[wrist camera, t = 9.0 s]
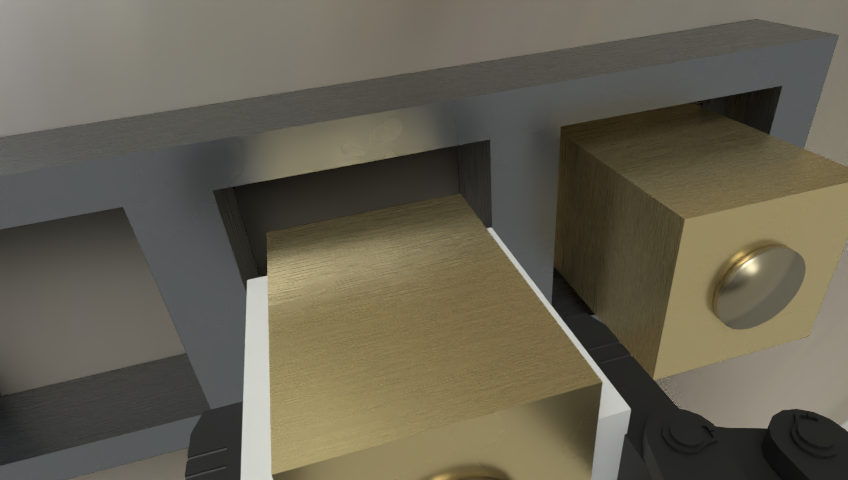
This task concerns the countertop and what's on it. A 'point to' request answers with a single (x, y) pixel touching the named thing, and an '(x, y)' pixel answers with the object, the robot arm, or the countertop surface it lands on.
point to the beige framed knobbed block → (696, 233)
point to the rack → (336, 147)
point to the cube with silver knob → (418, 355)
